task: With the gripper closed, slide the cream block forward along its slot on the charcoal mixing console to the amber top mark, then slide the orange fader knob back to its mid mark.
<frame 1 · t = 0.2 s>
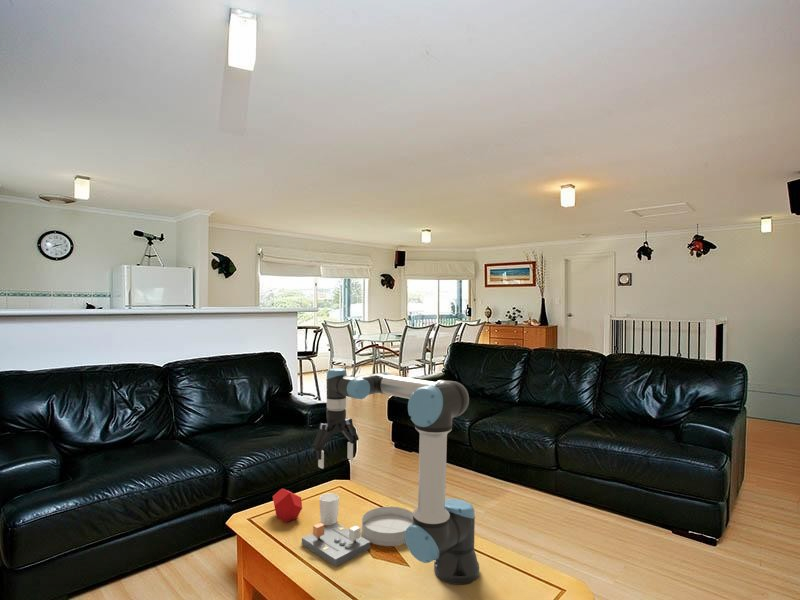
hand: (335, 463, 180), 27 cm above the table, fingers open, 13 cm apart
red faceted polyhedron: (286, 517, 193), on the table
cream block: (354, 534, 169), point 5 cm above the table, slide at 0.0 cm
fader b: (318, 531, 171), point 5 cm above the table, slide at 11.0 cm
console: (335, 546, 171), on the table
dish: (389, 532, 182), on the table
white cup: (329, 521, 190), on the table
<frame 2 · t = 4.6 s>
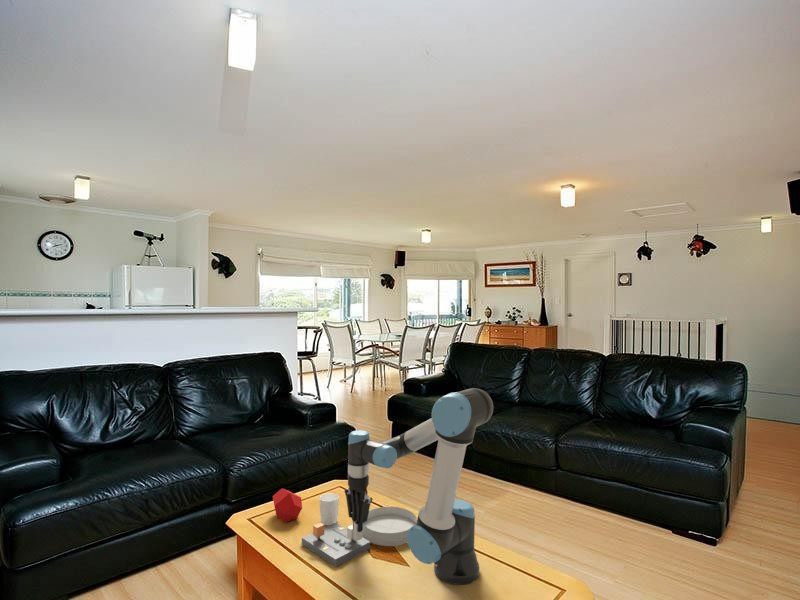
hand: (357, 539, 168), 4 cm above the table, fingers closed
cream block: (352, 533, 170), point 5 cm above the table, slide at 1.3 cm, touching gripper
everything else where it was.
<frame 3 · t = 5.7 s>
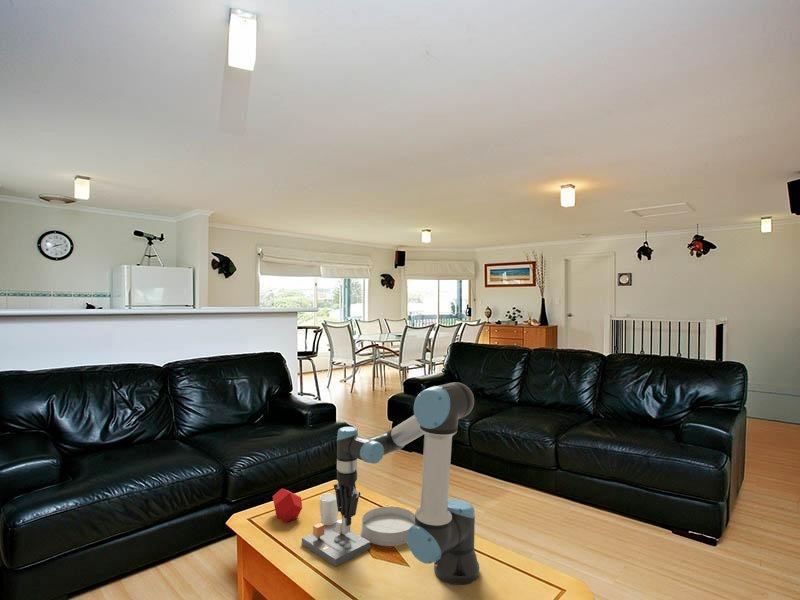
hand: (346, 532, 173), 4 cm above the table, fingers closed
cream block: (341, 527, 175), point 5 cm above the table, slide at 7.7 cm, touching gripper
everything else where it was.
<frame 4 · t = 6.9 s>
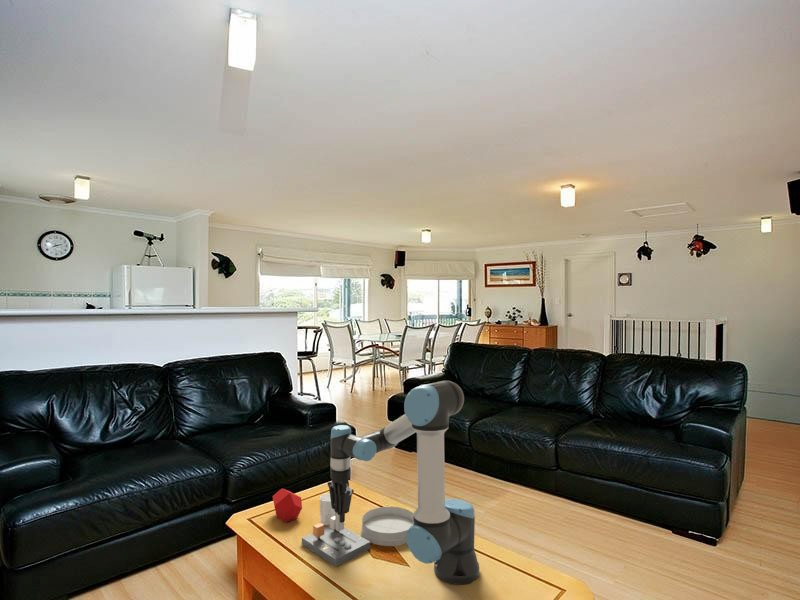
hand: (340, 529, 175), 4 cm above the table, fingers closed
cream block: (335, 523, 177), point 5 cm above the table, slide at 11.5 cm, touching gripper
everything else where it was.
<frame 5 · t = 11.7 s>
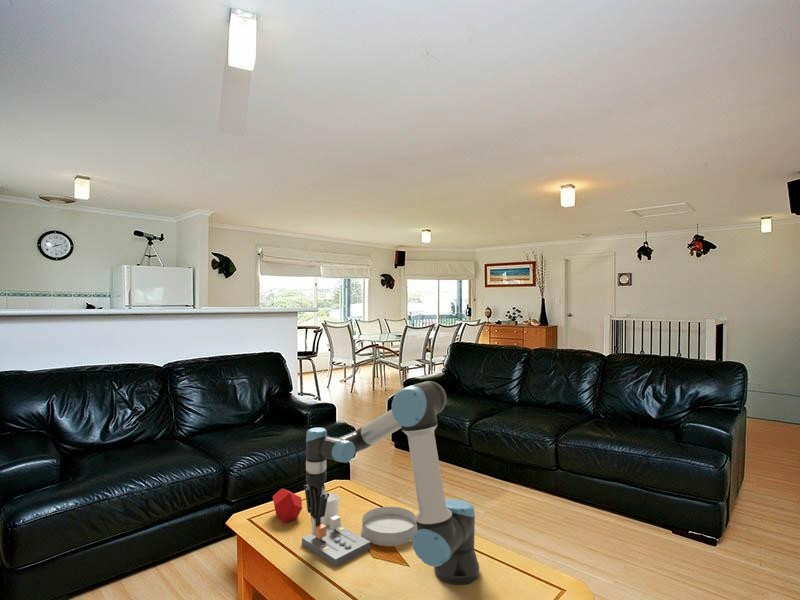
hand: (315, 533, 172), 4 cm above the table, fingers closed
cream block: (335, 523, 177), point 5 cm above the table, slide at 11.5 cm
fader b: (320, 532, 170), point 5 cm above the table, slide at 9.8 cm, touching gripper
everything else where it was.
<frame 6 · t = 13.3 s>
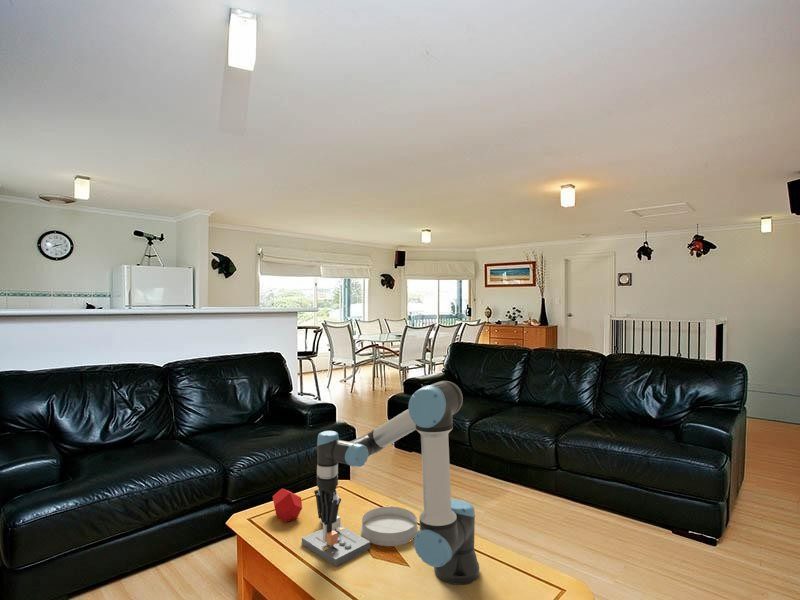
hand: (327, 539, 168), 4 cm above the table, fingers closed
fader b: (332, 539, 166), point 5 cm above the table, slide at 3.0 cm, touching gripper
everything else where it was.
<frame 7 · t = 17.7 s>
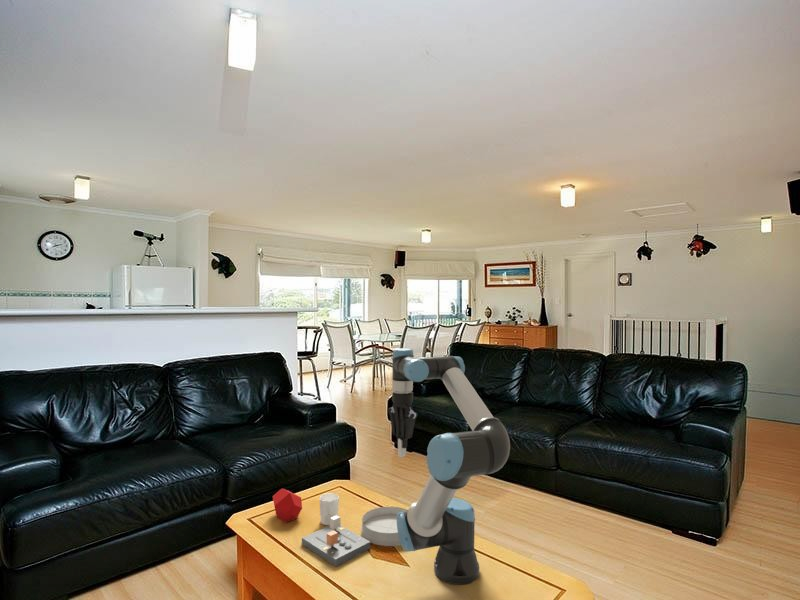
hand: (401, 456, 168), 34 cm above the table, fingers closed
fader b: (332, 539, 166), point 5 cm above the table, slide at 3.0 cm
everything else where it was.
at the end: cream block slide at 11.5 cm; fader b slide at 3.0 cm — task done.
